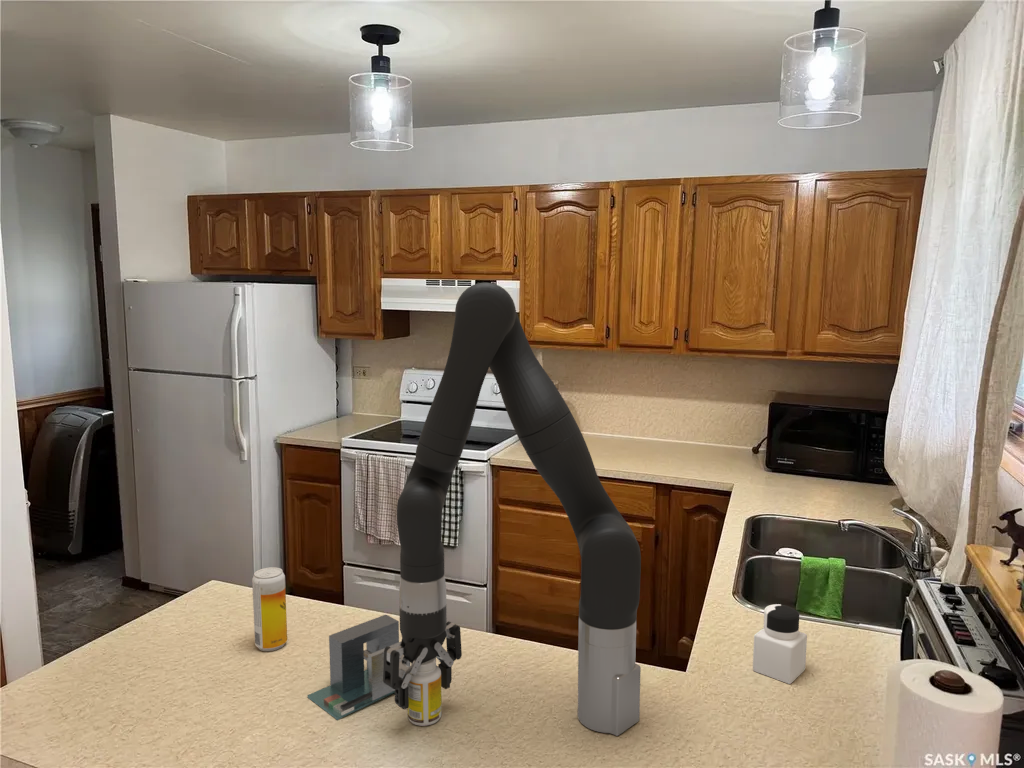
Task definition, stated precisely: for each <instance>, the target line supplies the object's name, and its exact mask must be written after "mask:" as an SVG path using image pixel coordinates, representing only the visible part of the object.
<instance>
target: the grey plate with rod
mask: <svg viewBox="0 0 1024 768" xmlns="http://www.w3.org/2000/svg"><path fill="white" fill-rule="evenodd" d="M400 644H401V641H399V642H398V643H396V644H393V645H391V646H389V647H391V648H395V647H398V646H400ZM384 649H385V648H384ZM384 649H381V650H379V651H377V652H374V653H372V652H370V651H368V650H367V649H365V650H364V661H366V662H367V661H368V672H369V693H367V694H365V695H363V696H360V697H358V698H356V699H354V700H352V701H349V702H347V703H345V704H343V705H341V706H340V707H341V709H342V710H345V709H347V708H350V707H352V706H354V705H356V704H358V703H360V702H362V701H365V700H367V699H370V700H372V701H373V700H376V699H378V698H380V697H382V696H384V695H386V694H388V693H390V692H393V691H395V689H393V688H391V687H389V686H388V685H386V684H385V683H384V682H383V668H384ZM401 656H402V655H401ZM407 666H408V667H410V666H411V663H410V662H409V661H407ZM404 675H405V672H404V674H403V676H402V679H403V677H404Z"/></svg>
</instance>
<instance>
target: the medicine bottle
mask: <svg viewBox="0 0 1024 768" xmlns="http://www.w3.org/2000/svg"><path fill="white" fill-rule="evenodd" d="M799 628H800V613H799V612H798V610H797V609H795V608H793V607H792V606H789V605H786V604H781V603H780V604H779V603H778V604H777V603H775V604H770V605H767V606H766V607H765V608H764V611H763V628H762V629H760V630H759V631H758V632H756V633H755V634H754V636H753V653H752V654H753V655H752V656H753V657H752V670H753V672H755V673H758V674H761V675H764V676H766V677H769V678H772V679H774V680H778V681H780V682H783V683H785V684H787V685H791V684H792V683H793V682H794V681H795V680H796V679H797V678H798V677H799V676H800V675H802V674H803V672H804V671H805V670H806V664H807V663H806V661H807V660H806V659H807V646H808V645H807V644H808V643H807V642H808V635H807V633H805V632H801V631H799Z"/></svg>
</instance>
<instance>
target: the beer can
mask: <svg viewBox="0 0 1024 768" xmlns="http://www.w3.org/2000/svg"><path fill="white" fill-rule="evenodd" d="M251 581H252V607H253V632H254V645H255V646H256V647H257V648H258V650H260V651H261V652H273V651H277V650H280V649H282V648H283V647H284V646H285V644H286V643H287V641H288V626H287V623H288V621H287V619H288V618H287V599H286V597H287V596H286V575H285V573H284V572H283V569H282V568H280V567H275V566H274V567H273V566H271V567H270V566H269V567H263V568H261V569H258V570H256V571H255V572H254V573H253V576H252V578H251Z"/></svg>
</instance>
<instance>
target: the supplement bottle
mask: <svg viewBox="0 0 1024 768" xmlns="http://www.w3.org/2000/svg"><path fill="white" fill-rule="evenodd" d="M411 665H412V663H410V666H411ZM407 686H408V689H409V707H408V708H407V718H408V720H409V722H410V723H411V724H413V725H416V726H422V727H425V726H430V725H434V724H435V723H437V722H438V721H439V720H440V719H441V717H442V712H443V709H442V705H443V704H442V687H441V670H440V668H439V667H438V664H437V658H433V659H431V660H429V661H427V662H424V663H422V664H420V666H419V668H418V670H417V672H416V674H415V675H413V676H412V677H411V679H410V681H409V683H408V685H407Z"/></svg>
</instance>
